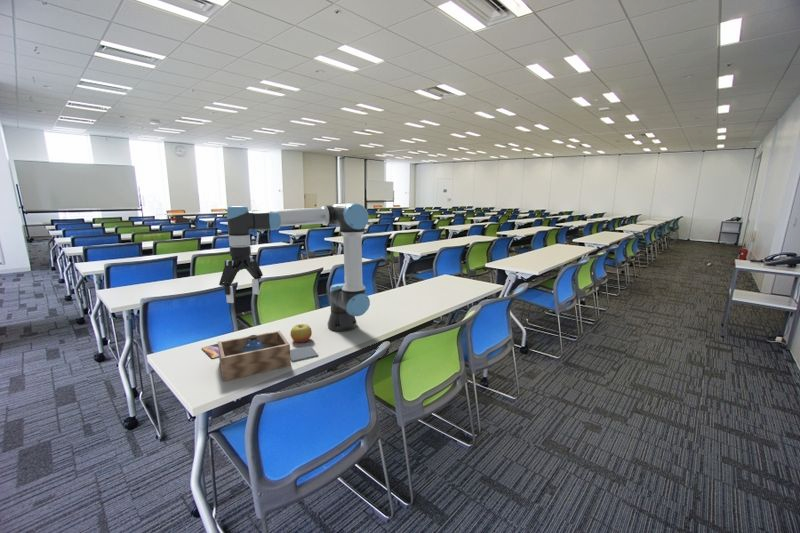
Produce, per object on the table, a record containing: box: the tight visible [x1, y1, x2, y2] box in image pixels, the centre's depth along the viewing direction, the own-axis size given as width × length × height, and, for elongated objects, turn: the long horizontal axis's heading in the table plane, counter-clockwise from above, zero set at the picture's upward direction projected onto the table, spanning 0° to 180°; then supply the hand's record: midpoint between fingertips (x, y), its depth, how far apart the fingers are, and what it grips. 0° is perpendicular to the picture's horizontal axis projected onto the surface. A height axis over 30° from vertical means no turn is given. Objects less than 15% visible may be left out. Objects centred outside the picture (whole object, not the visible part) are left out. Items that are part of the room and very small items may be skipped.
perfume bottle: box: [242, 334, 265, 353], centre depth 138 cm, size 6×6×12 cm
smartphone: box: [201, 343, 219, 360], centre depth 150 cm, size 8×1×15 cm
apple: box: [290, 323, 313, 344], centre depth 162 cm, size 10×10×8 cm
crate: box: [217, 330, 292, 382], centre depth 138 cm, size 24×17×9 cm
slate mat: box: [290, 345, 319, 363], centre depth 148 cm, size 11×11×1 cm
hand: (243, 298), depth 138 cm, fingers open, 13 cm apart
